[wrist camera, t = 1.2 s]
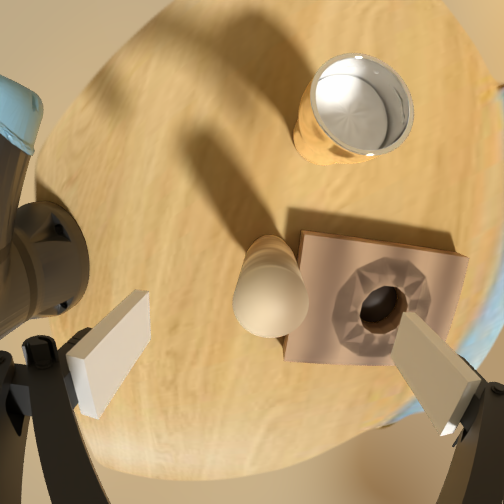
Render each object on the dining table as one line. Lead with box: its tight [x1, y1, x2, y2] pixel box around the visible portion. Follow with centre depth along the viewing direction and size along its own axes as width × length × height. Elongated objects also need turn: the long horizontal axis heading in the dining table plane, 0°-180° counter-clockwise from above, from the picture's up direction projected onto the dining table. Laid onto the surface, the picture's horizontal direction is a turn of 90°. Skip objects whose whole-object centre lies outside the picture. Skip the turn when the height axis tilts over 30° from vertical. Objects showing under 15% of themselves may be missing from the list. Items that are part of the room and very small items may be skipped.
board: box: [283, 230, 469, 366], centre depth 32 cm, size 20×14×3 cm
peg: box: [233, 235, 309, 338], centre depth 26 cm, size 5×5×14 cm
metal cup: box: [293, 53, 414, 166], centre depth 23 cm, size 7×7×15 cm
